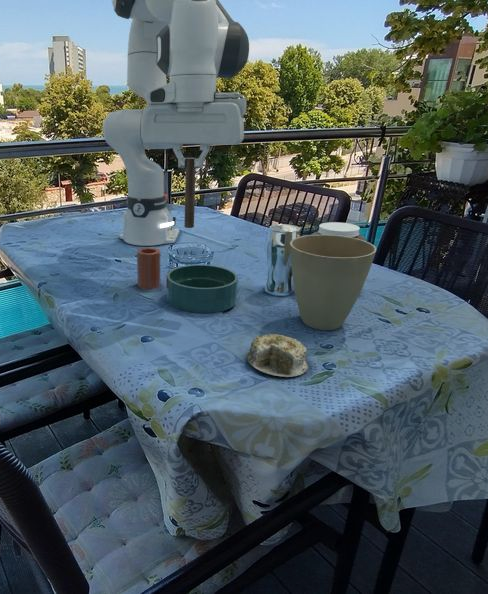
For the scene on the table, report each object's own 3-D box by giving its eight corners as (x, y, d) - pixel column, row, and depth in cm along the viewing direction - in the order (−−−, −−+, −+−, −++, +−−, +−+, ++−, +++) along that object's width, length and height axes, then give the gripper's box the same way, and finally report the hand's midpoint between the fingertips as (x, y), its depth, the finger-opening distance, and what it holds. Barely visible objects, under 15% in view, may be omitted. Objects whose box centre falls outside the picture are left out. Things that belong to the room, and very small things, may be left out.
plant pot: (292, 302, 101) (300, 231, 95) (366, 316, 94) (380, 240, 88) (272, 329, 90) (280, 249, 83) (355, 347, 82) (371, 262, 76)
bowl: (179, 285, 112) (179, 261, 109) (242, 293, 106) (244, 269, 104) (156, 309, 99) (156, 283, 96) (227, 320, 93) (229, 292, 91)
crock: (142, 282, 114) (142, 246, 111) (163, 284, 112) (163, 248, 109) (134, 289, 109) (133, 253, 106) (155, 292, 108) (155, 255, 104)
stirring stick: (186, 225, 99) (187, 157, 94) (195, 226, 98) (197, 157, 93) (183, 227, 97) (184, 158, 92) (192, 228, 97) (194, 158, 91)
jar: (312, 277, 115) (320, 218, 109) (362, 287, 109) (373, 224, 103) (296, 292, 106) (304, 228, 101) (350, 303, 100) (361, 236, 94)
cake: (248, 348, 84) (251, 320, 82) (306, 356, 81) (311, 327, 79) (243, 372, 75) (246, 341, 73) (308, 382, 72) (313, 351, 70)
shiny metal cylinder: (288, 299, 103) (296, 233, 97) (258, 293, 106) (264, 229, 101) (297, 289, 108) (305, 226, 103) (268, 283, 112) (274, 222, 106)
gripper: (250, 92, 87) (245, 167, 92) (149, 94, 95) (150, 164, 100) (243, 91, 82) (238, 171, 87) (137, 93, 89) (138, 167, 94)
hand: (190, 167), depth 93 cm, fingers closed on stirring stick, 2 cm apart
